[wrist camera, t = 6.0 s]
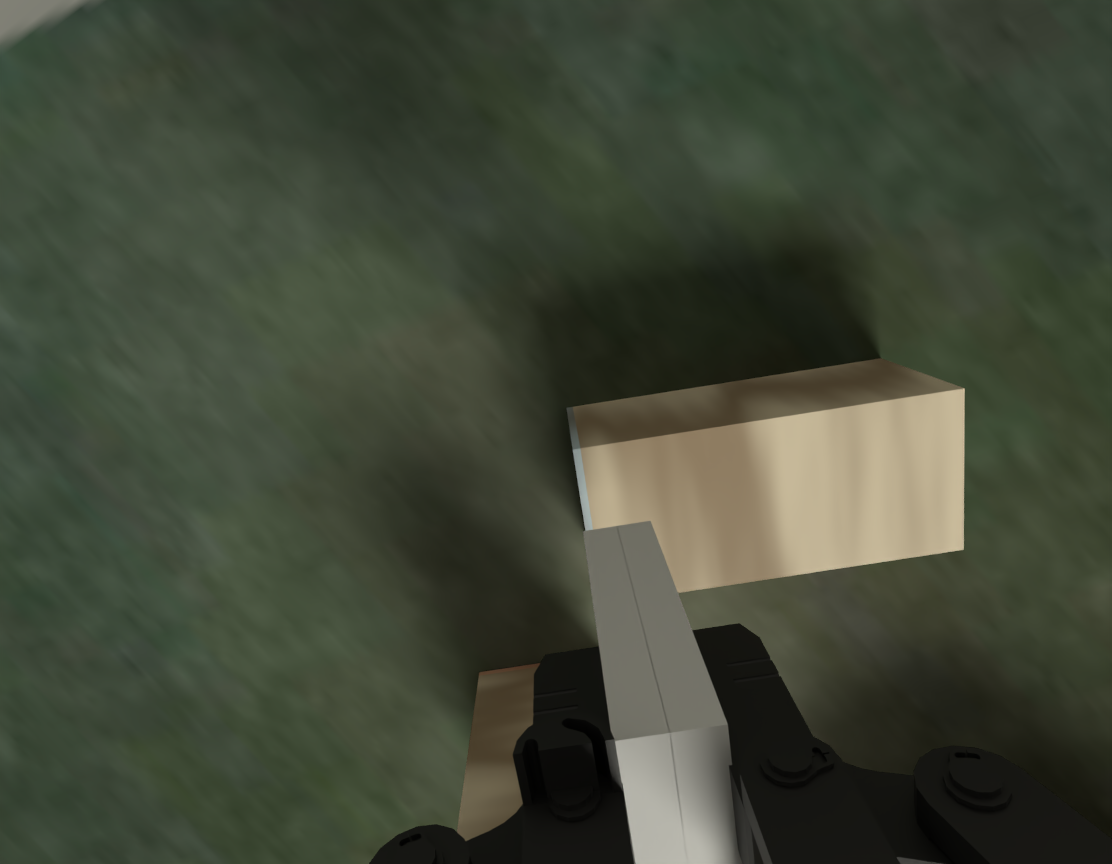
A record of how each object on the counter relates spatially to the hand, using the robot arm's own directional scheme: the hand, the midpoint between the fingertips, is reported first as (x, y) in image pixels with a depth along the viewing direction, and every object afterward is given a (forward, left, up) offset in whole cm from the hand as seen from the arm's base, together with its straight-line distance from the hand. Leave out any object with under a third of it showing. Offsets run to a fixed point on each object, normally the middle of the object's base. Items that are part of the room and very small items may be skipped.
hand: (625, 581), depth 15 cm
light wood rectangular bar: (-1, 0, -5) cm, 5 cm away
